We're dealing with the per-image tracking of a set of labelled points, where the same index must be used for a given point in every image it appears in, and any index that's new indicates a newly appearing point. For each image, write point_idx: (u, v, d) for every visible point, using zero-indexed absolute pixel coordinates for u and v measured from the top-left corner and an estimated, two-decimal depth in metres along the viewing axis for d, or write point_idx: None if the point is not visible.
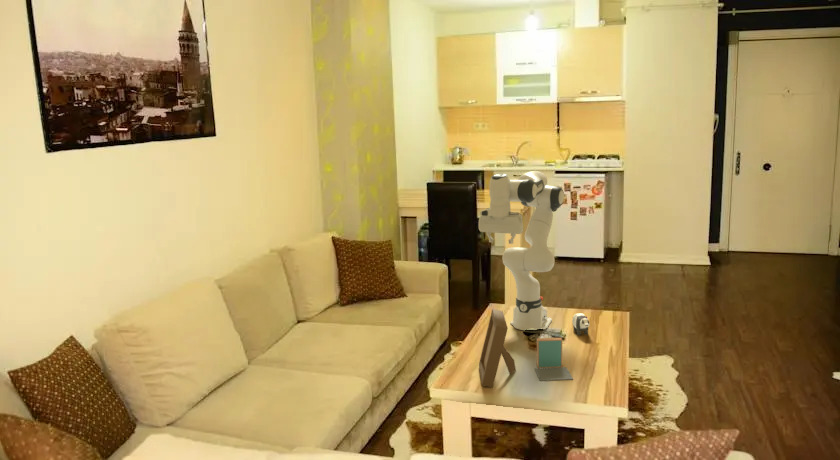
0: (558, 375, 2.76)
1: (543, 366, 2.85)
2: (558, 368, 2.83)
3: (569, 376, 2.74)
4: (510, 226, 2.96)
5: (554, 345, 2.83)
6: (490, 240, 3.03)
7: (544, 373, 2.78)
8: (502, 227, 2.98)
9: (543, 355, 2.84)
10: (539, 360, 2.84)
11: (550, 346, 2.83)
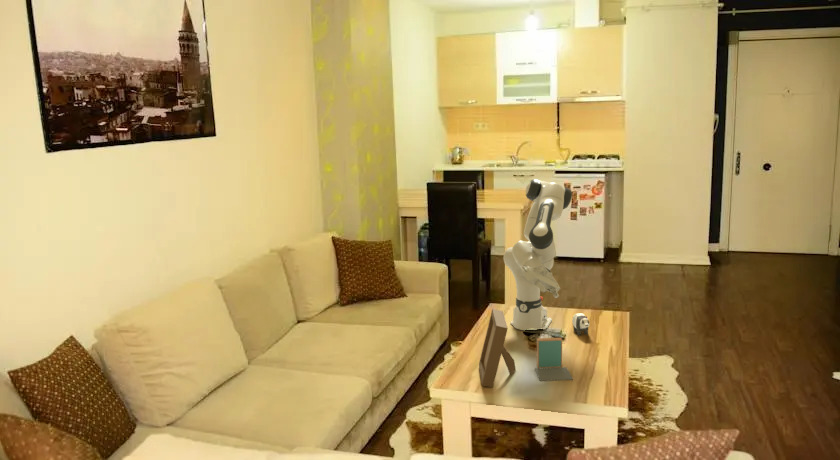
0: (558, 375, 2.76)
1: (543, 366, 2.85)
2: (558, 368, 2.83)
3: (569, 376, 2.74)
4: None
5: (554, 345, 2.83)
6: None
7: (544, 373, 2.78)
8: None
9: (543, 355, 2.84)
10: (539, 360, 2.84)
11: (550, 346, 2.83)
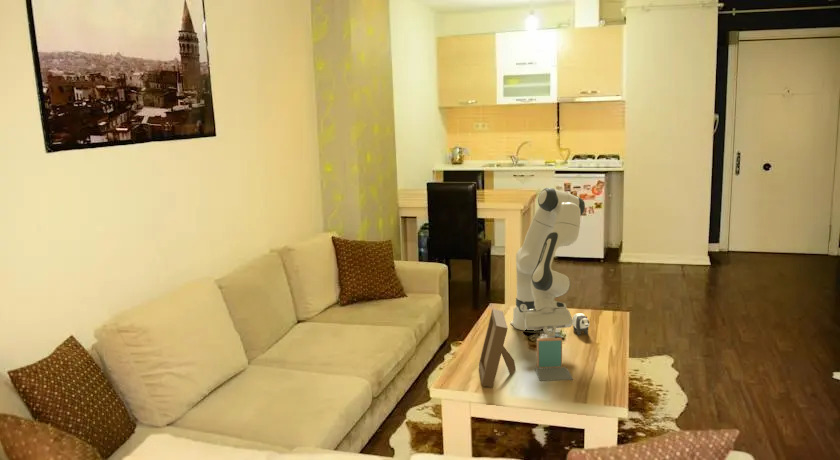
0: (558, 375, 2.76)
1: (543, 366, 2.85)
2: (558, 368, 2.83)
3: (569, 376, 2.74)
4: None
5: (554, 345, 2.83)
6: None
7: (544, 373, 2.78)
8: None
9: (543, 355, 2.84)
10: (539, 360, 2.84)
11: (550, 346, 2.83)
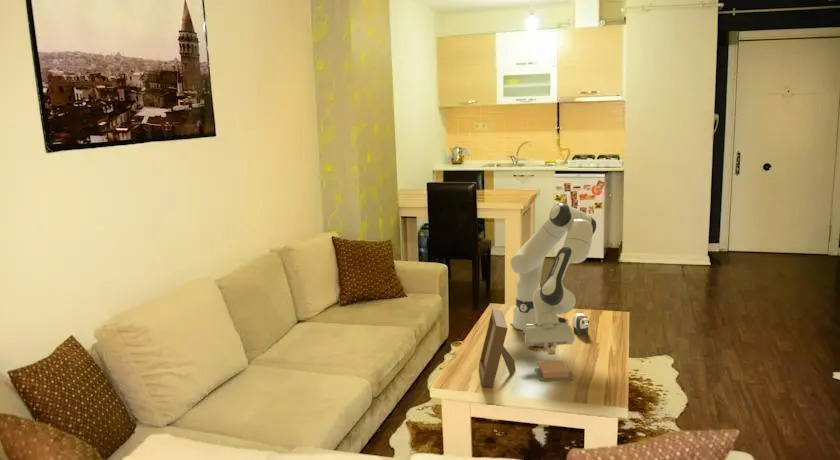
0: None
1: None
2: None
3: (569, 376, 2.74)
4: None
5: None
6: None
7: None
8: None
9: None
10: None
11: None
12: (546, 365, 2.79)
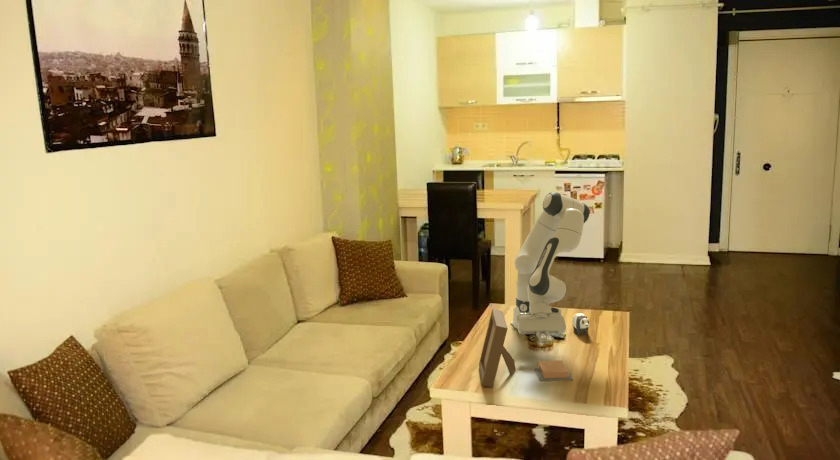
0: None
1: None
2: None
3: (569, 376, 2.74)
4: None
5: None
6: None
7: None
8: None
9: None
10: None
11: None
12: (546, 365, 2.79)
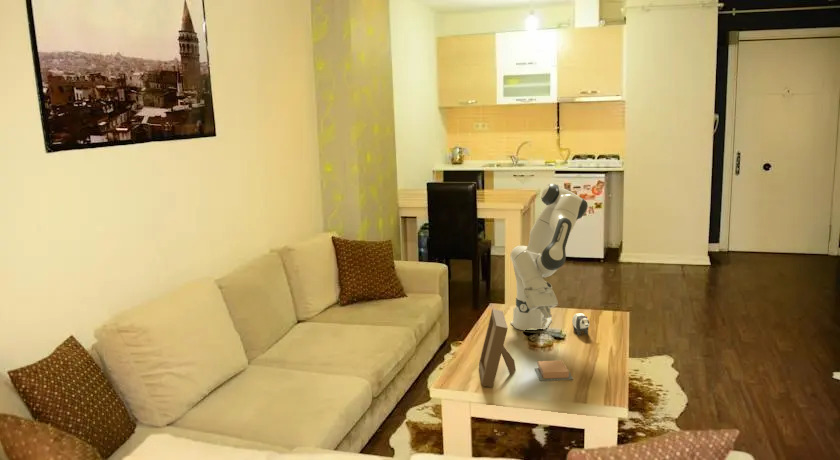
0: None
1: None
2: None
3: (569, 376, 2.74)
4: None
5: None
6: None
7: None
8: None
9: None
10: None
11: None
12: (546, 365, 2.79)
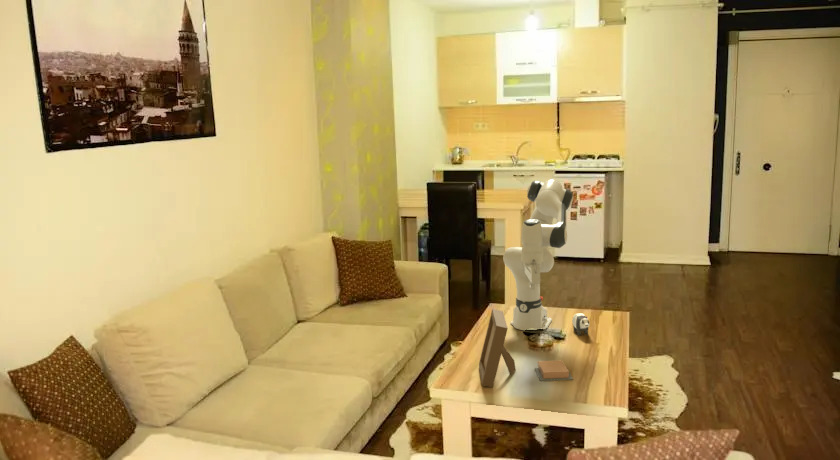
0: None
1: None
2: None
3: (569, 376, 2.74)
4: (530, 274, 2.90)
5: None
6: (530, 286, 2.97)
7: None
8: (528, 273, 2.93)
9: None
10: None
11: None
12: (546, 365, 2.79)
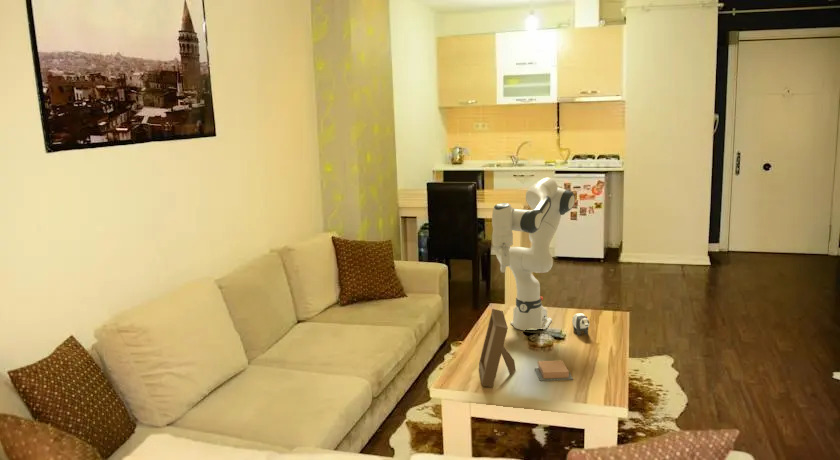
0: None
1: None
2: None
3: (569, 376, 2.74)
4: (500, 257, 2.96)
5: None
6: (500, 269, 3.03)
7: None
8: (499, 256, 3.00)
9: None
10: None
11: None
12: (546, 365, 2.79)
